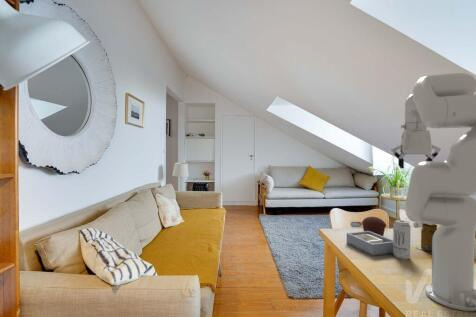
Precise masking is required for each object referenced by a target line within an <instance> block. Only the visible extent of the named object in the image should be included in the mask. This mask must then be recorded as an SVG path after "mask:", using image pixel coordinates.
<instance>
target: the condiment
mask: <svg viewBox="0 0 476 317" xmlns="http://www.w3.org/2000/svg"><path fill="white" fill-rule="evenodd" d="M437 229H438V224H427V223H422V226H421V230H420V234H421V235H420V246H418V247H415V248H416V249H418V250H421V251H423V252H425V253H428V254H431V255H432V238H433V235H434V233H435V231H436V230H437Z"/></svg>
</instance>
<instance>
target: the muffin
mask: <svg viewBox="0 0 476 317" xmlns="http://www.w3.org/2000/svg"><path fill="white" fill-rule="evenodd" d="M361 225H362V229H363V231H370V232H373V233H376V234H378V235H381V236H383V237H384V234H385V229H386V228H387V224H386V222H385V221H384V220H383V219H381V218H380V217H376V216H367V217H365V218H364V219H363V220H362V221H361Z"/></svg>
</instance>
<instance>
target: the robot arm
mask: <svg viewBox="0 0 476 317" xmlns="http://www.w3.org/2000/svg"><path fill="white" fill-rule="evenodd" d="M427 128H430V129H459V128H460V129H461V128H462V129H463V128H465V129H466V128H471V129H470V130H468V131H467V132H466V133H464V134H463V135H461V136H460V137H459V138H458V139H457V140H455V142H453V144H452V145H451V147H450V149H449V154H448V156H447V159H445V160H441V161H439V160H438V161H437V160H434V159H435V158H436V157H437V156H438V155H439V153H440V151H441V148H440V147H438V146H436V145H435V144H432V138H431V132H430V130H429V129H427ZM400 129H403V131H402V135H401V139H400V144H398V145H397V146H394V147H392V148H391V152H392V154H393V155H394V156H395V158H397V160H398V167H399V169H404V167H405V159H404V157H405V156H406V155H424V156H425V157H426V159H425V161H420V162H419V163H417V164H416V165H415V166H414V167H413V169H412V172H411V175H410V179H409V184H408V189H407V193H406V198H405V204H404V210H405V211H404V212H405V215H406V216H407V218H408V220H410V221H411V222H414V223H418V224H423V223H427V224H436V225H439V227H437V230H436V231H435V233H434V235H433V238H432V254H431V284H427V285H426V286H425V287H424V288H425V289H424V290H425V293H426V295H427V296H428V297H429V298H430V299H432V301H435V302H436V303H438V304H439V305H440V304H441V305H443V306H445V307H448V308H451V309H455V310H460V311H463V312H464V311H465V312H475V311H476V289H474V285H475V284H474V282H475V281H474V280H475V275H474V274H475V238H476V199H475V198H474V197H473V195H476V78H475V77H474V76H473V75H472V74H468V73H463V72H455V73H442V74H431V75H424V76H422V77H420V78H419V79H418V80H417V81H416V82H415V84H414V86H413V89H412V94H410V95H409V96H408V97H407V98H406V99H405V102H404V124H402V125H400ZM399 149H400V150H399ZM397 150H399V151H400V153H399V152H397ZM433 150H434V151H433ZM432 151H433V152H432ZM433 160H434V161H433Z"/></svg>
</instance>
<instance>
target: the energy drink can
mask: <svg viewBox="0 0 476 317" xmlns="http://www.w3.org/2000/svg"><path fill="white" fill-rule="evenodd" d="M411 227H412V226H411V225H410V222H409V221H408V220H407V221H406V220H402V219H396V220H394V223H393V229H392V230H393V232H392V233H393V234H392V238H393V239H392V240H393V255H394V258H396V259H399V260H409V258H411V231H412V230H411Z"/></svg>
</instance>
